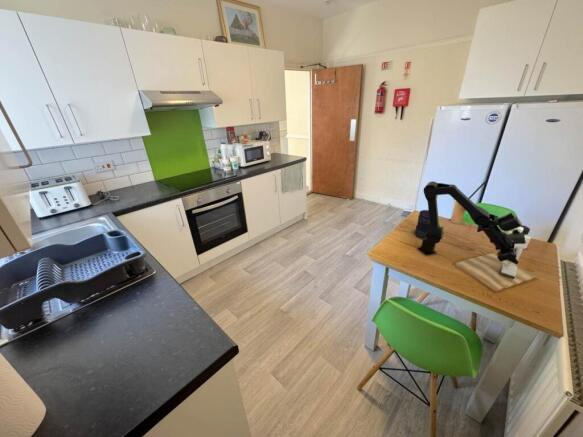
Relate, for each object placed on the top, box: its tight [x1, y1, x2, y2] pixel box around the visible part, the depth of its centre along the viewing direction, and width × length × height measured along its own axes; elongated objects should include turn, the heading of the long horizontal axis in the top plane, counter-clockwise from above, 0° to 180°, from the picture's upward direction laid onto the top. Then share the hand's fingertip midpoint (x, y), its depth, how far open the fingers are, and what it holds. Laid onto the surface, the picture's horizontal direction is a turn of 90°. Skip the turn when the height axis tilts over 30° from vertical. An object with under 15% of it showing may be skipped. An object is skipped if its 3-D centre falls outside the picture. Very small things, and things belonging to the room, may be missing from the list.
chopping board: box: [454, 252, 538, 293], centre depth 116 cm, size 26×20×1 cm
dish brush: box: [500, 246, 524, 279], centre depth 110 cm, size 8×5×14 cm, turn 139°
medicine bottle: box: [506, 224, 532, 250], centre depth 132 cm, size 7×7×12 cm
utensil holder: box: [449, 181, 486, 224], centre depth 153 cm, size 11×11×30 cm
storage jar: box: [414, 209, 430, 240], centre depth 143 cm, size 10×10×18 cm
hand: (516, 262), depth 109 cm, fingers closed on dish brush, 2 cm apart
